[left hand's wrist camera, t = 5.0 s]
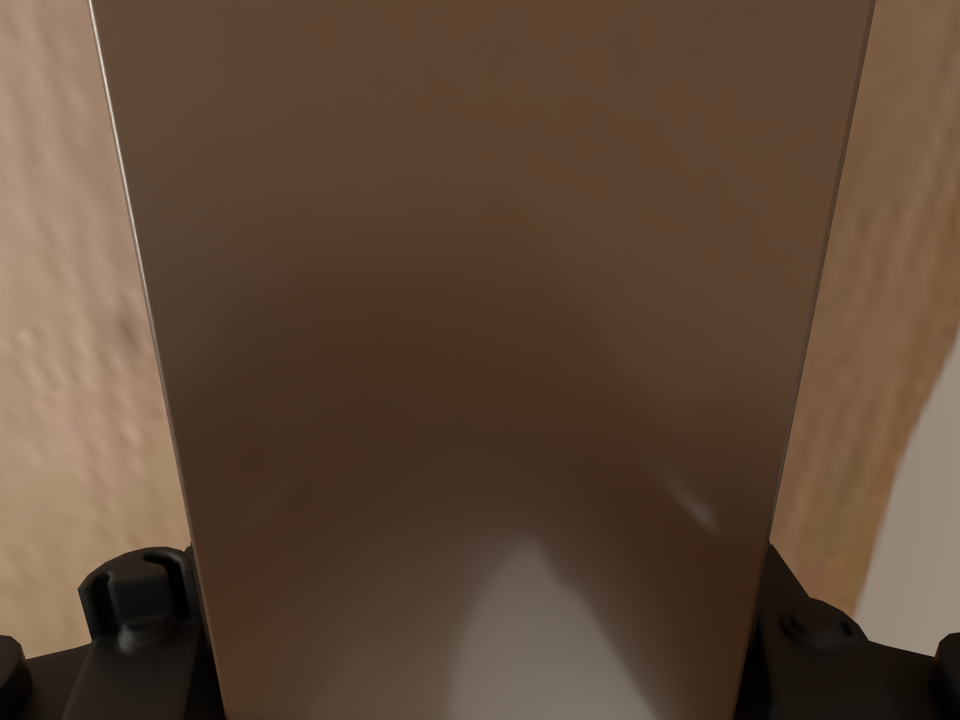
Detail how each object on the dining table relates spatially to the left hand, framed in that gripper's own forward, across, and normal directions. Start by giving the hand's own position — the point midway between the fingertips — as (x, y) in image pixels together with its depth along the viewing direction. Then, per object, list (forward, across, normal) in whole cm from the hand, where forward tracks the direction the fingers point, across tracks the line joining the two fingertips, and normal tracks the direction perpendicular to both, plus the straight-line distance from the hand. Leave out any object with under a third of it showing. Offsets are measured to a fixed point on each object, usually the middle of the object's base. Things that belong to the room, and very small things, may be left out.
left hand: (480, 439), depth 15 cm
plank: (+1, 0, -16) cm, 16 cm away
